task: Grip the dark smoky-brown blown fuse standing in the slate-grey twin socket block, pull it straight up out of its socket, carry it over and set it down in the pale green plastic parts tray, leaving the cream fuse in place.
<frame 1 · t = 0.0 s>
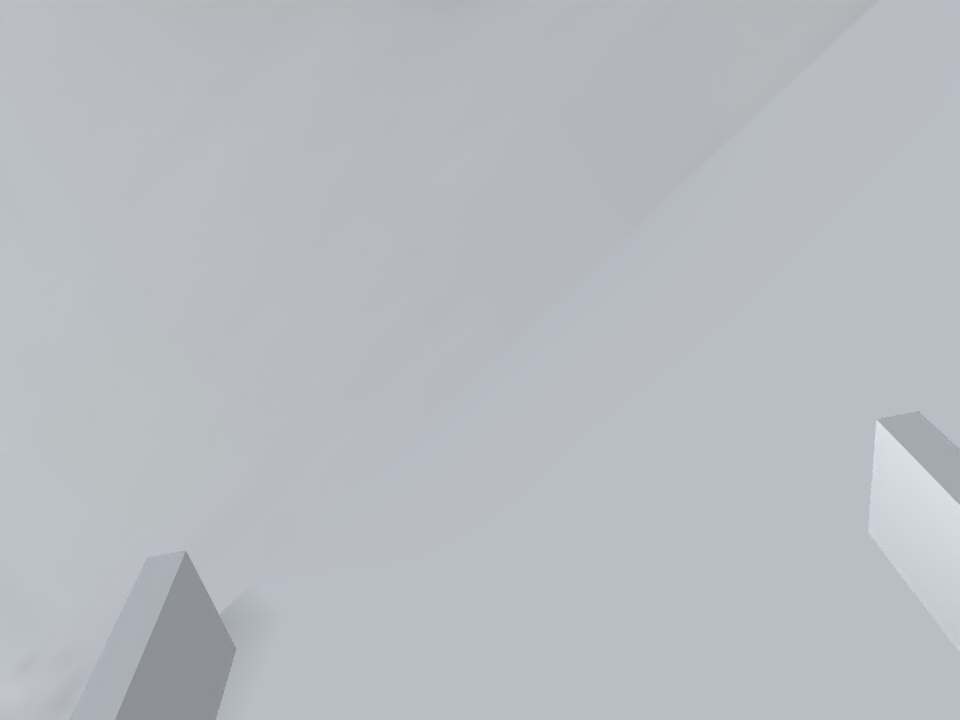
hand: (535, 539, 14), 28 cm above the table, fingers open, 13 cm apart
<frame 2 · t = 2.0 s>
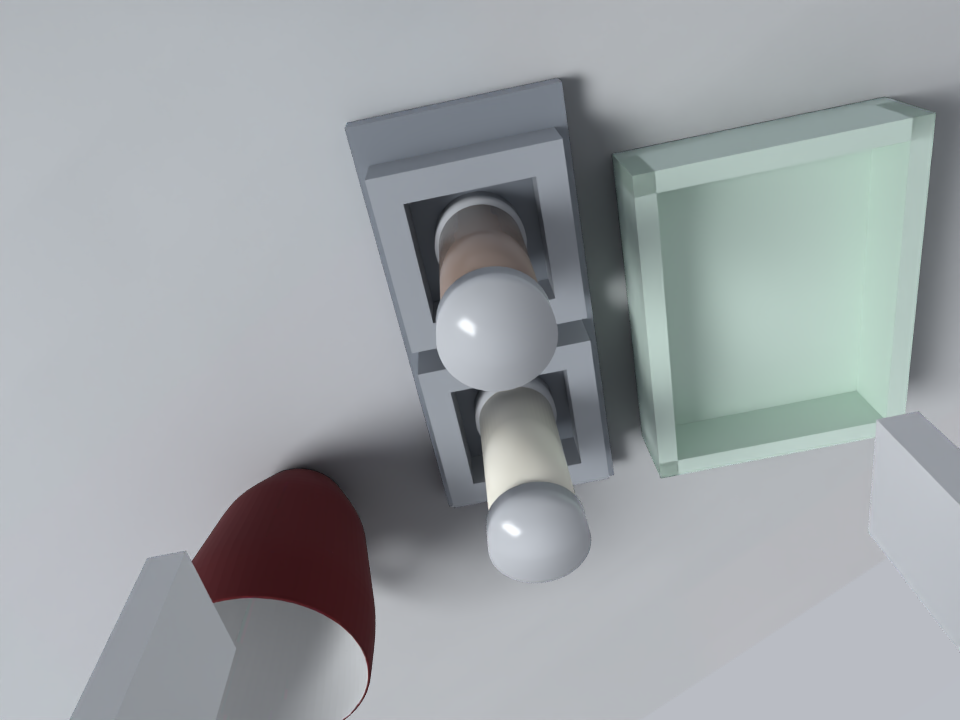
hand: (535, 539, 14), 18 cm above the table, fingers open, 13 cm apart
tray: (750, 284, 32), on the table
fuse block: (495, 314, 32), on the table
fuse blown: (479, 235, 29), point 1 cm above the table, touching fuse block
mug: (310, 516, 37), on the table
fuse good: (513, 403, 33), point 1 cm above the table, touching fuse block
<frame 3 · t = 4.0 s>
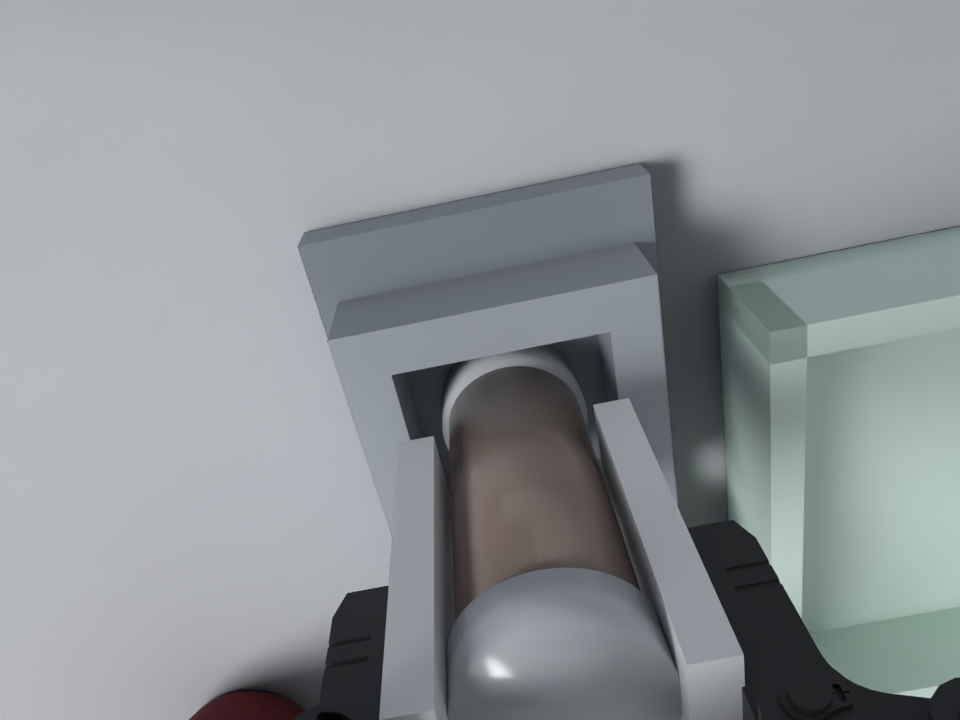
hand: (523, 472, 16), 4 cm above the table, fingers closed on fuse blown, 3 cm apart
tray: (907, 451, 22), on the table
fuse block: (531, 495, 22), on the table
fuse blown: (510, 398, 19), point 1 cm above the table, touching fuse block, gripper
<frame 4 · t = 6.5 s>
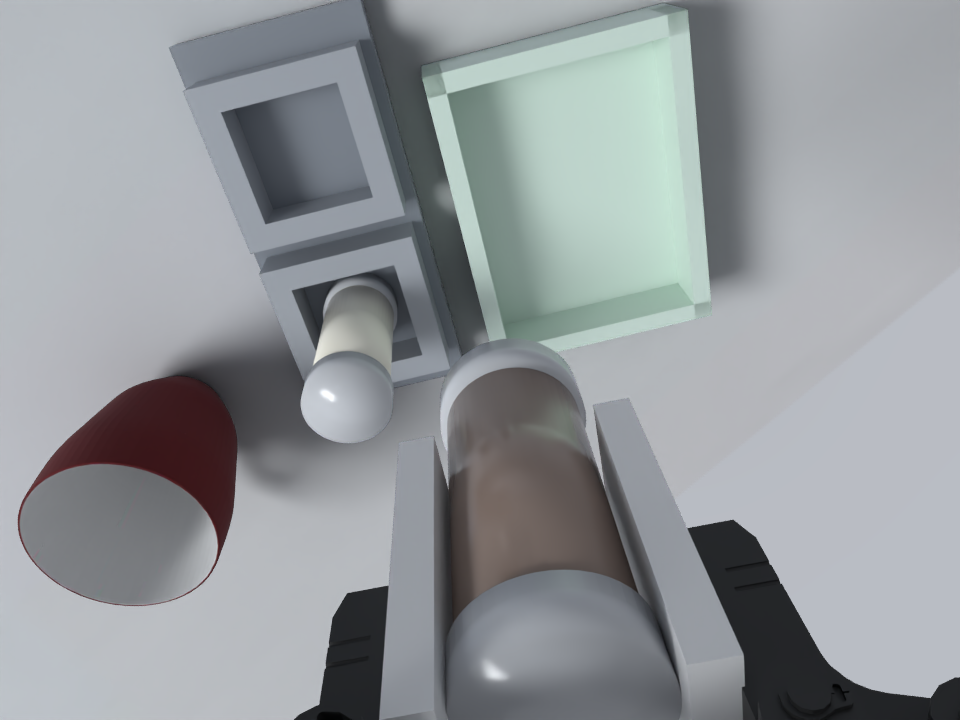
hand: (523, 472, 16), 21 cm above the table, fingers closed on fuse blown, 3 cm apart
tray: (567, 186, 35), on the table
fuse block: (337, 222, 35), on the table
fuse blown: (509, 399, 19), point 18 cm above the table, touching gripper
mug: (196, 423, 40), on the table
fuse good: (361, 305, 36), point 1 cm above the table, touching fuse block
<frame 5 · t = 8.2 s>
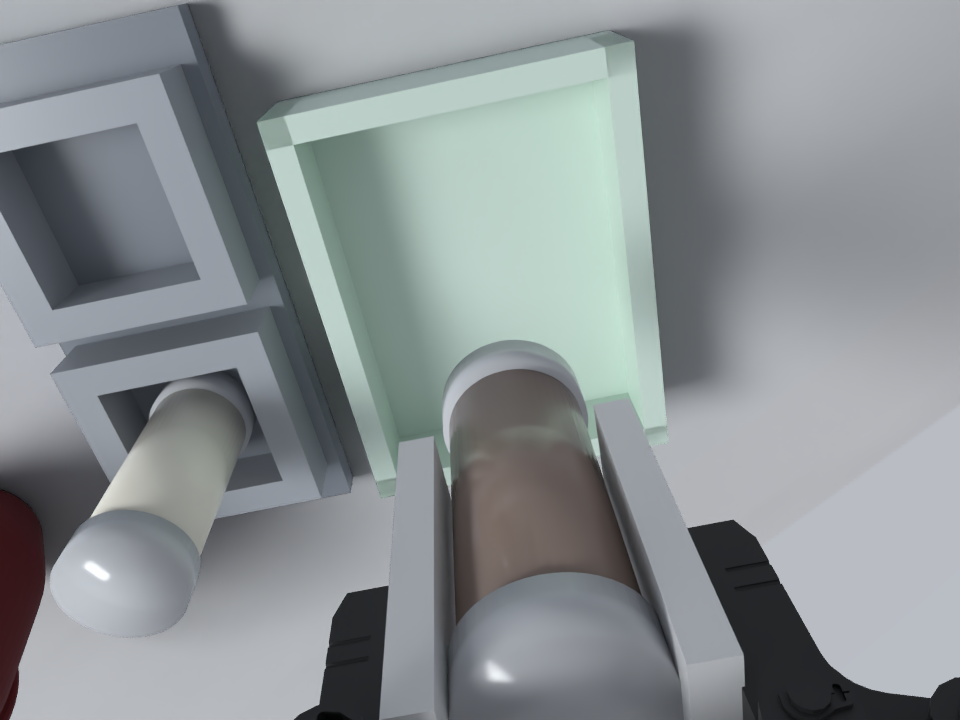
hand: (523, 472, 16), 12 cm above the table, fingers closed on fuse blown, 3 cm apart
tray: (482, 265, 26), on the table
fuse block: (175, 301, 26), on the table
fuse blown: (511, 401, 19), point 9 cm above the table, touching gripper
mug: (8, 541, 31), on the table
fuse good: (208, 409, 27), point 1 cm above the table, touching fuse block
when the fingers open (5 cm above the table, at t = 9.5 s): fuse blown stays where it is, resting on tray.
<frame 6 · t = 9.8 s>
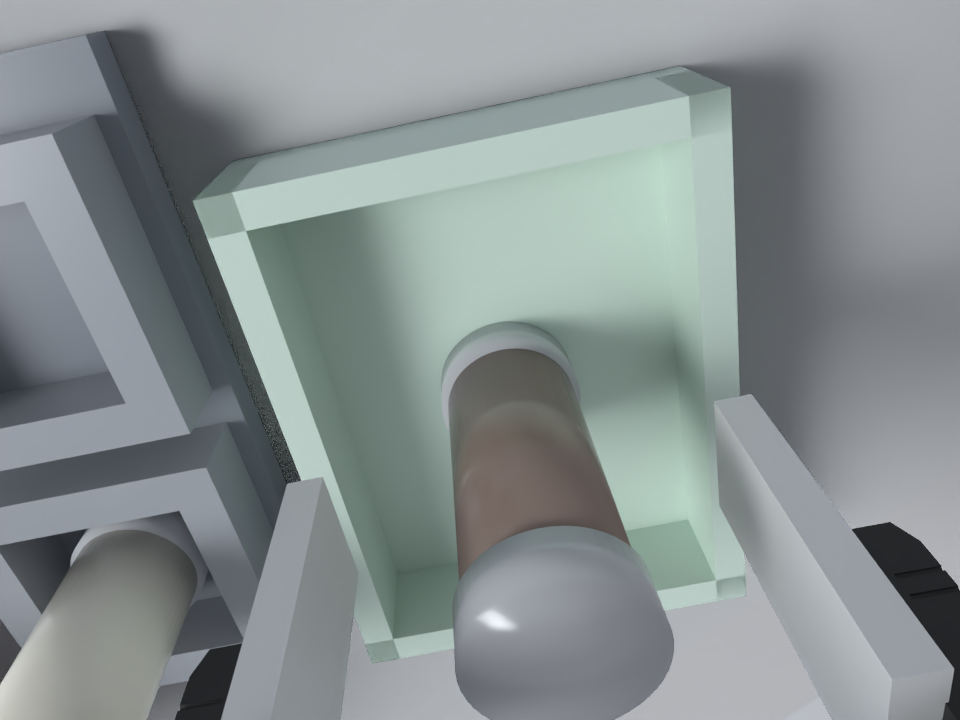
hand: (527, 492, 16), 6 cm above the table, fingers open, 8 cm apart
tray: (504, 365, 20), on the table
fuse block: (106, 411, 20), on the table
fuse blown: (506, 381, 20), point 1 cm above the table, touching tray
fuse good: (152, 544, 21), point 1 cm above the table, touching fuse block
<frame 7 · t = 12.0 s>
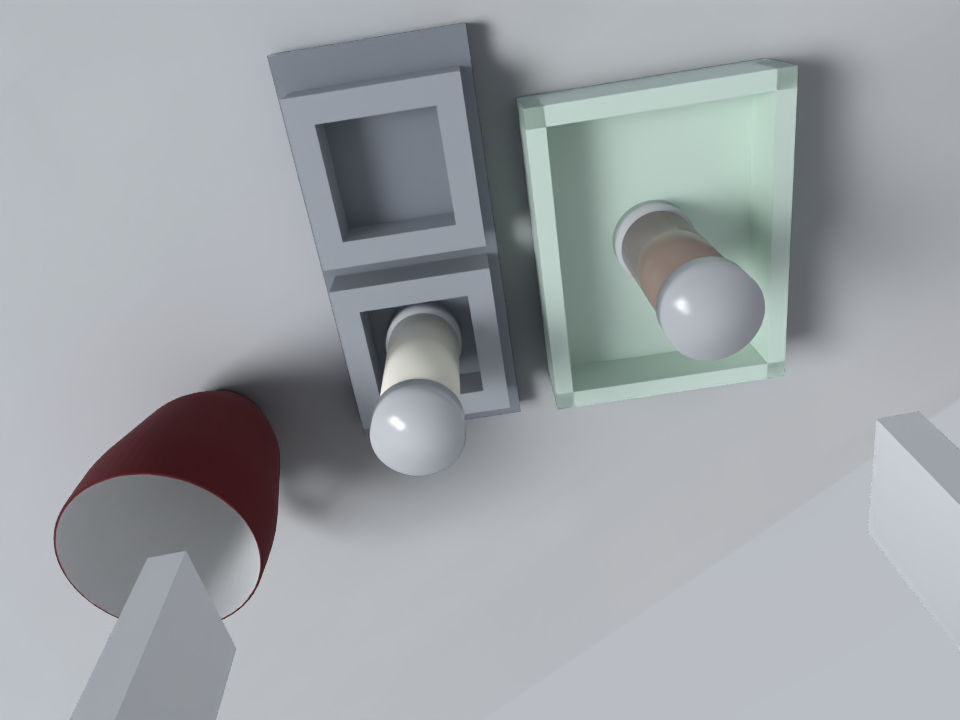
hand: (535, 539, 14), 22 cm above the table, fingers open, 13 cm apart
tray: (647, 232, 34), on the table
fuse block: (409, 247, 34), on the table
fuse blown: (650, 238, 34), point 1 cm above the table, touching tray
mug: (235, 441, 39), on the table
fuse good: (424, 334, 35), point 1 cm above the table, touching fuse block
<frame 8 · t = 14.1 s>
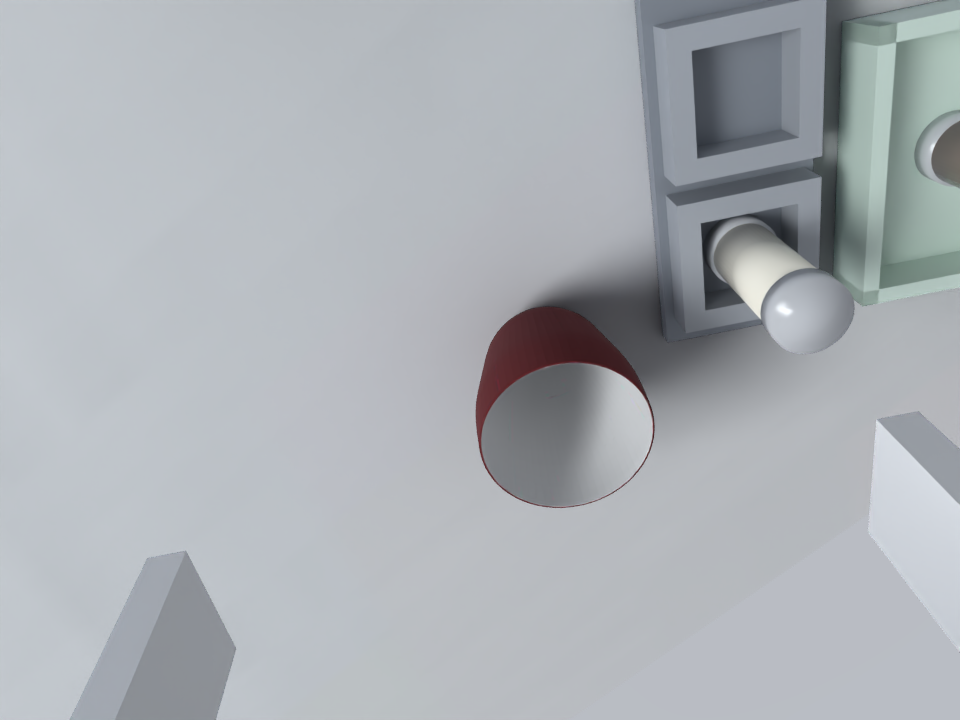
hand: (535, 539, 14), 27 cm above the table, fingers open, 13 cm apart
tray: (940, 141, 38), on the table
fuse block: (726, 166, 38), on the table
fuse blown: (949, 145, 37), point 1 cm above the table, touching tray
mug: (542, 356, 43), on the table
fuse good: (736, 245, 39), point 1 cm above the table, touching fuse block
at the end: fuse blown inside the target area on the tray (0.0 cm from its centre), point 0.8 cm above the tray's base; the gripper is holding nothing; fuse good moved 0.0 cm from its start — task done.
